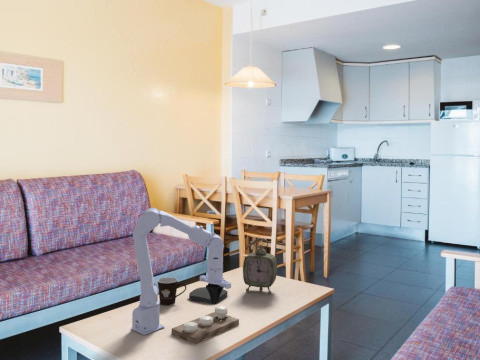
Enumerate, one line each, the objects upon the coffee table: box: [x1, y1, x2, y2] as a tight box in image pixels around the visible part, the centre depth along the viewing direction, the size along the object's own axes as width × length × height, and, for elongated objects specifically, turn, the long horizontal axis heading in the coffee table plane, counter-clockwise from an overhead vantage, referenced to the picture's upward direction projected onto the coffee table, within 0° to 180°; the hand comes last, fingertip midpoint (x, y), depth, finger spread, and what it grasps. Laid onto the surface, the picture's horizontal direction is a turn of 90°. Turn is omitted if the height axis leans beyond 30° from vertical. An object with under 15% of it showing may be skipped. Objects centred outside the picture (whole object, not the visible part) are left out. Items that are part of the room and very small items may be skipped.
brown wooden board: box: [171, 311, 240, 345], centre depth 164 cm, size 23×12×2 cm, turn 139°
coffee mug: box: [156, 276, 187, 306], centre depth 190 cm, size 12×9×10 cm
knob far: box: [214, 305, 228, 319], centre depth 170 cm, size 5×5×4 cm
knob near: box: [183, 321, 197, 333], centre depth 158 cm, size 5×5×4 cm
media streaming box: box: [188, 286, 228, 305], centre depth 199 cm, size 15×15×3 cm
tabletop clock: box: [242, 238, 278, 295], centre depth 207 cm, size 14×9×25 cm, turn 73°
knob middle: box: [199, 315, 213, 327], centre depth 164 cm, size 5×5×4 cm
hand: (214, 303), depth 167 cm, fingers closed
